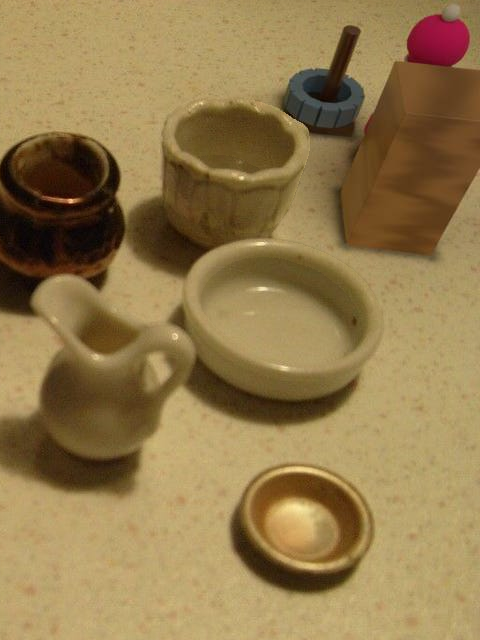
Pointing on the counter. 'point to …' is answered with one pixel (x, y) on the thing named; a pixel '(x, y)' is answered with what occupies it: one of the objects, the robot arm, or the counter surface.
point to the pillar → (414, 159)
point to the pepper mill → (437, 40)
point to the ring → (322, 111)
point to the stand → (337, 79)
